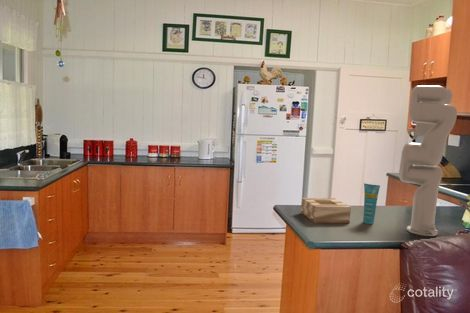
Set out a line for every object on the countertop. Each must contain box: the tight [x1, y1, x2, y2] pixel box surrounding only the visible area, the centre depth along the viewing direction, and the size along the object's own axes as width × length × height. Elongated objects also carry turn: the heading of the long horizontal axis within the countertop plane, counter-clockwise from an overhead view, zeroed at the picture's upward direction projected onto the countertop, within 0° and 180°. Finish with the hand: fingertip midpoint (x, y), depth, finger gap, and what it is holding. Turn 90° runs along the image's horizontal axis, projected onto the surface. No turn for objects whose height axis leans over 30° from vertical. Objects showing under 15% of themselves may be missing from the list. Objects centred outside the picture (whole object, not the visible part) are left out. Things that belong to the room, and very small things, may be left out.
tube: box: [362, 183, 381, 225], centre depth 184 cm, size 7×5×19 cm, turn 60°
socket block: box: [300, 197, 352, 224], centre depth 190 cm, size 18×18×8 cm
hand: (424, 147), depth 199 cm, fingers open, 9 cm apart
